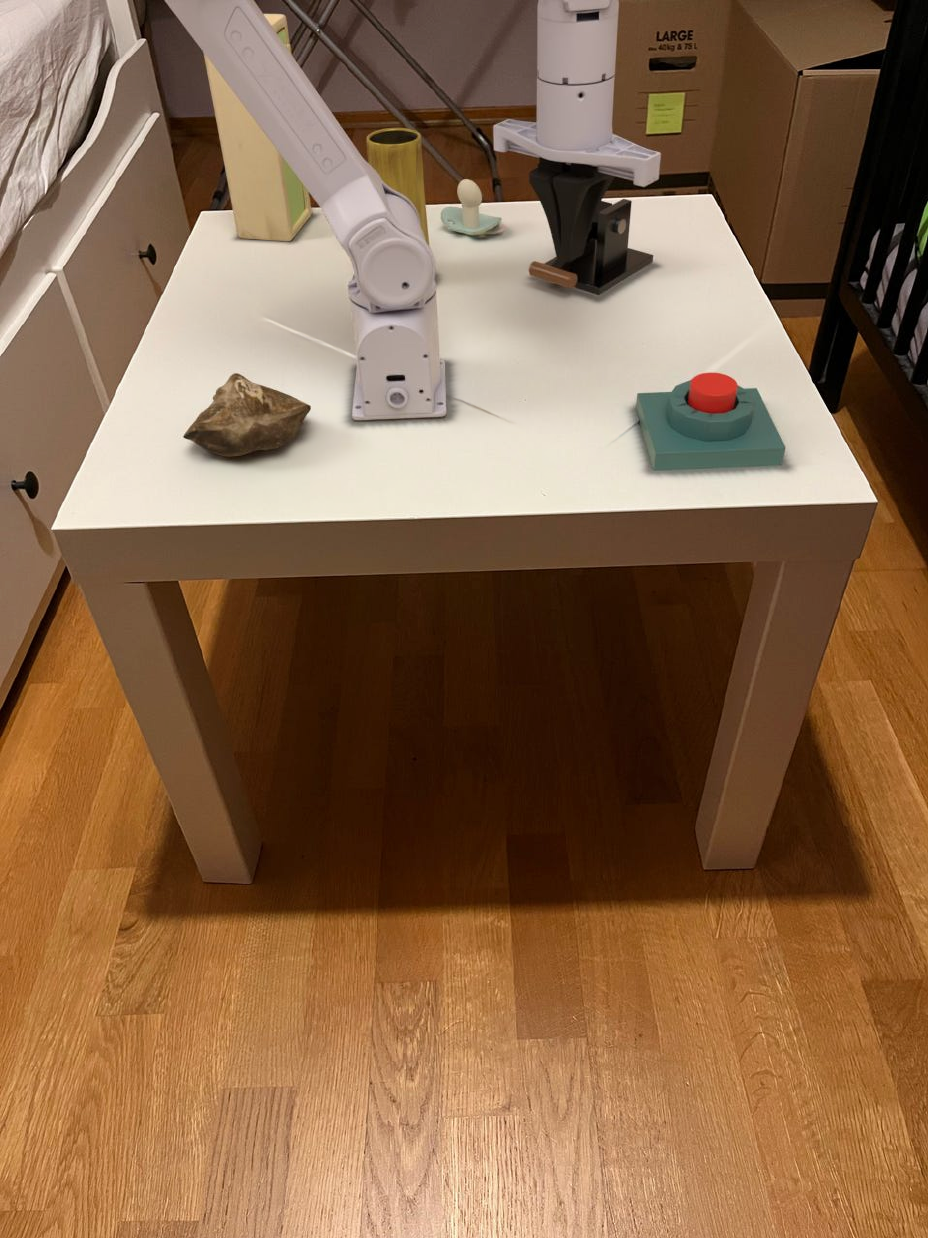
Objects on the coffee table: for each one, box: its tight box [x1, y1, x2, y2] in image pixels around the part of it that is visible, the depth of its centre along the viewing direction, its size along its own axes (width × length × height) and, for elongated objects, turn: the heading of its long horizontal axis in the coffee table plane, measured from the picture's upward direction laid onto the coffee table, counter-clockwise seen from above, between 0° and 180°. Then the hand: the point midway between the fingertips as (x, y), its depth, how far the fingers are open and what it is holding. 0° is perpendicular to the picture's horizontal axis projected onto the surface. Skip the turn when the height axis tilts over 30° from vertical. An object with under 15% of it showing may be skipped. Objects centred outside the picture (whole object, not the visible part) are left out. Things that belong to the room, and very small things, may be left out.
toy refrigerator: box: [202, 13, 312, 242], centre depth 107 cm, size 8×7×21 cm
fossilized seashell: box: [183, 372, 312, 457], centre depth 79 cm, size 8×7×10 cm
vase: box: [366, 127, 431, 248], centre depth 98 cm, size 6×6×14 cm
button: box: [688, 371, 739, 414], centre depth 76 cm, size 4×4×2 cm
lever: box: [528, 200, 613, 289], centre depth 98 cm, size 10×5×2 cm, turn 140°
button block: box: [635, 379, 786, 472], centre depth 78 cm, size 9×10×4 cm
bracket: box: [543, 198, 654, 296], centre depth 100 cm, size 10×8×7 cm
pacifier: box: [440, 178, 506, 237], centre depth 109 cm, size 7×6×6 cm
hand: (569, 256), depth 81 cm, fingers closed
